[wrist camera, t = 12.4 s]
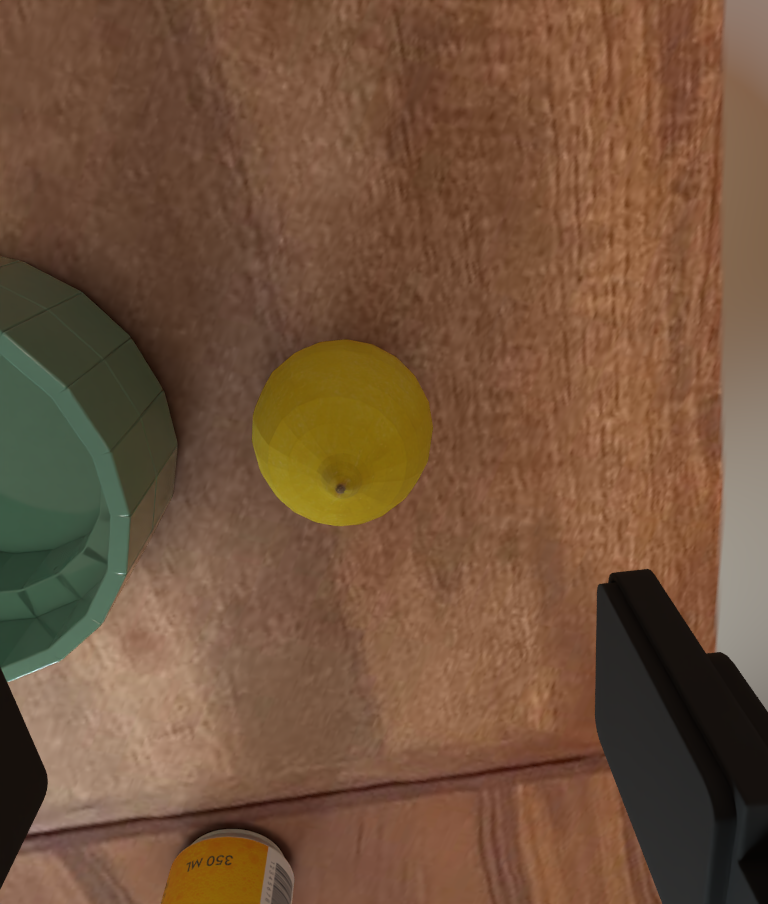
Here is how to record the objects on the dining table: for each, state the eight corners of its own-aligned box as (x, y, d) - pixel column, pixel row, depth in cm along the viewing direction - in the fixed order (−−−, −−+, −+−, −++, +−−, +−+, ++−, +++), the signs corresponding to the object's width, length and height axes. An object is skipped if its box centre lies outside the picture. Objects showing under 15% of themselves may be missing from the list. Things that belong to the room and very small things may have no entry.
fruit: (311, 286, 24) (284, 347, 17) (452, 360, 25) (484, 448, 18) (246, 421, 26) (195, 529, 18) (379, 484, 27) (381, 610, 20)
